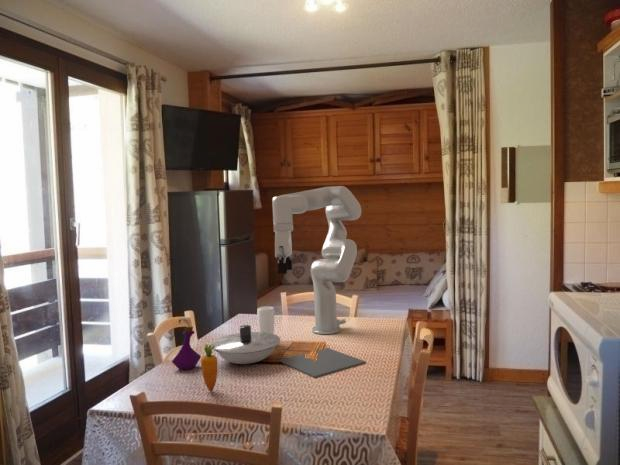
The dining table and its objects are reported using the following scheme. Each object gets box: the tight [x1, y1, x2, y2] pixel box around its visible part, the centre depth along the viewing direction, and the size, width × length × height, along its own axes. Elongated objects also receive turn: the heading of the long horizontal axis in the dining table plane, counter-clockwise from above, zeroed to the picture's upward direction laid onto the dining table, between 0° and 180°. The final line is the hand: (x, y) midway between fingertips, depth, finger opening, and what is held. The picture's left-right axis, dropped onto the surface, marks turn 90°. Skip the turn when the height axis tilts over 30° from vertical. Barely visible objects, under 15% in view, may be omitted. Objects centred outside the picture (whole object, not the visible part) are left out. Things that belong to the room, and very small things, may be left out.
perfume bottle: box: [171, 317, 202, 371], centre depth 182 cm, size 8×8×18 cm
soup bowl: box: [213, 346, 277, 365], centre depth 187 cm, size 24×24×7 cm
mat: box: [278, 347, 366, 379], centre depth 182 cm, size 22×22×1 cm
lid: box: [210, 324, 281, 354], centre depth 187 cm, size 25×25×6 cm
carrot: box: [200, 343, 218, 393], centre depth 158 cm, size 5×5×15 cm
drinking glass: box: [256, 306, 275, 334], centre depth 206 cm, size 7×7×15 cm
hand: (285, 271), depth 199 cm, fingers open, 9 cm apart
